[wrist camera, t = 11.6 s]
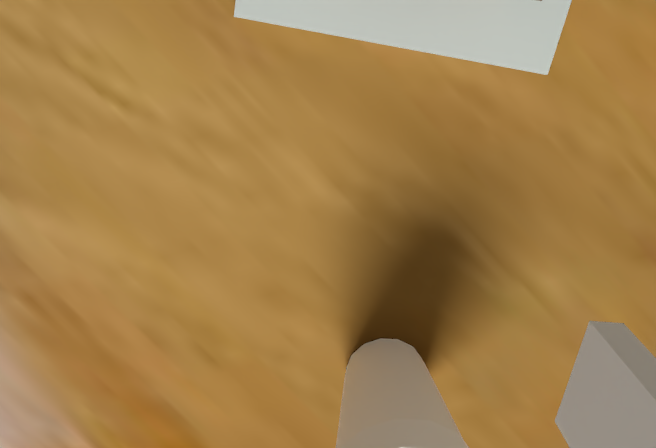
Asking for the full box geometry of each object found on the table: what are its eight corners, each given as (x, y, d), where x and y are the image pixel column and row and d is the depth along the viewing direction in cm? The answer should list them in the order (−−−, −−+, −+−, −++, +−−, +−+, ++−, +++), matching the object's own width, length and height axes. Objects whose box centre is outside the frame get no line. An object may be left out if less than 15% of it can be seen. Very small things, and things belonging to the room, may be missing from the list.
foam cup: (445, 408, 49) (487, 549, 37) (337, 422, 49) (344, 567, 37) (436, 313, 45) (480, 436, 33) (319, 330, 45) (320, 457, 33)
